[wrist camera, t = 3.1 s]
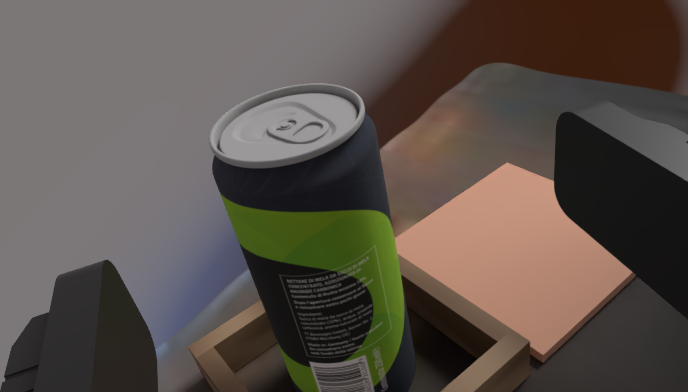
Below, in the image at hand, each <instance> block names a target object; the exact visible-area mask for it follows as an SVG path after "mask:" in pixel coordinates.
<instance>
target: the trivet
mask: <svg viewBox="0 0 688 392" xmlns="http://www.w3.org/2000/svg"><path fill="white" fill-rule="evenodd" d="M395 243H396V249H397V254H399V255H401V256H402V257H404V258H405V259H407V260H408V261H410V262H411V263H413V264H414V265H416V266H417V267H419V268H420V269H422V270H423V271H425V272H426V273H428V274H429V275H431V276H432V277H434V278H435V279H437V280H438V281H440V282H441V283H443V284H444V285H446V286H447V287H449V288H450V289H452V290H453V291H455V292H456V293H458V294H460V295H461V296H463V297H464V298H466V299H467V300H469V301H470V302H472V303H473V304H475V305H476V306H478V307H479V308H481V309H482V310H484V311H485V312H487V313H488V314H490V315H491V316H493V317H494V318H496V319H497V320H499V321H500V322H502V323H503V324H505V325H506V326H508V327H509V328H511V329H512V330H514V331H516V332H517V333H519V334H520V335H522V336H523V337H525V338H526V339H528V340H529V341H530V354H531V355H532V356H534V357H535V358H537V359H538V360H539V361H541V362H542V363H544V362H545V361H546V360H547V359H548V358H549V357H550V356H551V355H552V354H553V353H554V352H555V351H556V350H558V349H559V348H560V347H561V346H562V345H563V344H564V343H565V342H566V341H567V340H568V339H569V338H570V337H571V336H572V335H574V334H575V333H576V332H577V331H578V330H579V329H580V328H581V327H582V326H583V325H584V324H585V323H586V322H587V321H588V320H590V319H591V318H592V317H593V316H594V315H595V314H596V313H597V312H598V311H599V310H600V309H601V308H602V307H603V306H605V305H606V304H607V303H608V302H609V301H610V300H611V299H612V298H613V297H614V296H615V295H616V294H617V293H618V292H619V291H621V290H622V289H623V288H624V287H625V286H626V285H627V284H628V283H629V282H630V281H631V280H632V279H633V278H634V277H636V275H635V274H634V273H633V272H632V271H631V270H629V269H628V268H627V267H626V266H625V265H624V264H622V263H621V262H620V261H619V260H618V259H616V258H615V257H614V256H613V255H612V254H611V253H609V252H608V251H607V250H606V249H605V248H604V247H602V246H601V245H600V244H599V243H598V242H596V241H595V240H594V239H593V238H592V237H591V236H589V235H588V234H587V233H586V232H585V231H584V230H582V229H581V228H580V227H579V226H578V225H577V224H575V223H574V222H573V221H572V220H571V219H569V218H568V217H567V216H566V215H565V213H564V212H563V211H562V209H561V207H560V206H559V204H558V201H557V199H556V195H555V191H554V181H551V180H549V179H546V178H544V177H541V176H539V175H536V174H534V173H532V172H529V171H527V170H524V169H522V168H519V167H517V166H514V165H512V164H509V163H506V164H504V165H503V166H501V167H500V168H499V169H497V170H496V171H494V172H493V173H491V174H490V175H488V176H487V177H485V178H484V179H482V180H481V181H479V182H478V183H476V184H475V185H473V186H472V187H470V188H469V189H467V190H466V191H464V192H463V193H461V194H460V195H459V196H457V197H456V198H454V199H453V200H451V201H450V202H448V203H447V204H445V205H444V206H442V207H441V208H439V209H438V210H436V211H435V212H433V213H432V214H430V215H429V216H427V217H426V218H424V219H423V220H422V221H420V222H419V223H417V224H416V225H414V226H413V227H411V228H410V229H408V230H407V231H405V232H404V233H402V234H401V235H399V236H398V237H396V238H395Z"/></svg>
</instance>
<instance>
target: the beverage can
mask: <svg viewBox="0 0 688 392" xmlns="http://www.w3.org/2000/svg"><path fill="white" fill-rule="evenodd" d="M209 143H210V146H211V149H212V151H213V153H214V154H215V156H214V159H213V166H212V167H213V168H212V170H213V175H214V178H215V181H216V184H217V186H218V189H219V192H220V194H221V197H222V199H223V201H224V205H225V207H226V210H227V212H228V215H229V217H230V220H231V223H232V225H233V228H234V231H235V233H236V236H237V239H238V241H239V244H240V246H241V249H242V251H243V254H244V257H245V259H246V262H247V265H248V267H249V270H250V273H251V275H252V278H253V280H254V283H255V286H256V288H257V291H258V293H259V296H260V299H261V301H262V304H263V307H264V309H265V312H266V314H267V317H268V320H269V322H270V325H271V327H272V330H273V333H274V335H275V338H276V340H277V343H278V346H279V348H280V351H281V354H282V356H283V359H284V361H285V364H286V367H287V369H288V372H289V374H290V377H291V380H292V382H293V385H294V388H295V390H296V392H407V391H408V389H409V388H410V386H411V384H412V381H413V378H414V374H415V368H416V360H415V353H414V347H413V341H412V336H411V330H410V324H409V318H408V313H407V307H406V301H405V295H404V290H403V284H402V278H401V272H400V266H399V261H398V255H397V249H396V243H395V238H394V232H393V226H392V220H391V215H390V209H389V203H388V197H387V192H386V186H385V180H384V174H383V169H382V163H381V157H380V151H379V146H378V140H377V134H376V129H375V126H374V124H373V122H372V120H371V118H370V117H369V116H368V115H367V114H366V113H365V108H364V103H363V101H362V99H361V98H360V96H359V95H358V94H357V93H355V92H354V91H352V90H350V89H348V88H345V87H342V86H338V85H332V84H301V85H294V86H288V87H284V88H280V89H276V90H272V91H269V92H266V93H263V94H260V95H258V96H255V97H253V98H250V99H248V100H246V101H244V102H242V103H241V104H239V105H237V106H235V107H234V108H232V109H231V110H229V111H228V112H227V113H225V114H224V115H223V116H222V117H221V118H220V119H219V120H218V121H217V122H216V124H215V125H214V126H213V128H212V130H211V133H210V137H209Z"/></svg>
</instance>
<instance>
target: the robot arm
mask: <svg viewBox="0 0 688 392" xmlns="http://www.w3.org/2000/svg"><path fill="white" fill-rule="evenodd" d="M554 191H555V195H556V199H557V201H558V204H559V206H560V207H561V209H562V211H563V212H564V213H565V215H566V216H567V217H568V218H569V219H571V220H572V221H573V222H574V223H575V224H577V225H578V226H579V227H580V228H581V229H582V230H584V231H585V232H586V233H587V234H588V235H589V236H591V237H592V238H593V239H594V240H595V241H596V242H598V243H599V244H600V245H601V246H602V247H604V248H605V249H606V250H607V251H608V252H609V253H611V254H612V255H613V256H614V257H615V258H616V259H618V260H619V261H620V262H621V263H622V264H624V265H625V266H626V267H627V268H628V269H629V270H631V271H632V272H633V273H634V274H635V275H636V276H638V277H639V278H640V279H641V280H642V281H643V282H645V283H646V284H647V285H648V286H649V287H651V288H652V289H653V290H654V291H655V292H656V293H658V294H659V295H660V296H661V297H662V298H663V299H665V300H666V301H667V302H668V303H669V304H670V305H672V306H673V307H674V308H675V309H676V310H678V311H679V312H680V313H681V314H682V315H683V316H685V317H686V318H687V319H688V134H686V133H684V132H682V131H680V130H678V129H676V128H674V127H672V126H670V125H666V124H662V123H658V122H654V121H650V120H646V119H643V118H639V117H637V116H635V115H633V114H631V113H630V112H628V111H626V110H624V109H622V108H620V107H618V106H616V105H614V104H613V103H611V102H608V101H604V100H602V101H598V102H595V103H592V104H589V105H585V106H582V107H579V108H576V109H573V110H570V111H567V112H564V113H562V114H561V115H560V116H559V118H558V120H557V124H556V142H555V169H554ZM4 377H5V382H3V383H2V386H1V390H0V392H158V377H157V357H156V351H155V347H154V343H153V340H152V337H151V334H150V332H149V329H148V327H147V325H146V323H145V321H144V319H143V317H142V315H141V314H140V312H139V310H138V308H137V306H136V304H135V302H134V301H133V299H132V297H131V295H130V293H129V291H128V290H127V288H126V286H125V284H124V282H123V280H122V279H121V277H120V275H119V273H118V271H117V270H116V268H115V266H114V265H113V264H112V263H111V262H110V261H109V260H104V261H101V262H98V263H95V264H92V265H89V266H86V267H83V268H80V269H77V270H73V271H70V272H67V273H65V274H61V275H59V276H58V277H57V279H56V282H55V287H54V291H53V296H52V301H51V306H50V311H49V313H45V314H43V315H39V316H37V317H33V318H32V319H31V320H30V322H29V323H28V325H27V326H26V328H25V329H24V331H23V332H22V333H21V335H20V336H19V338H18V339H17V340H16V342H15V343H14V345H13V346H12V348H11V352H10V356H9V359H8V363H7V367H6V371H5V375H4Z"/></svg>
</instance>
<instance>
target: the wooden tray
mask: <svg viewBox="0 0 688 392" xmlns="http://www.w3.org/2000/svg"><path fill="white" fill-rule="evenodd" d="M397 255H398V261H399V266H400V272H401V278H402V284H403V290H404V295H405V301H406V306H407V307H408V308H410V309H411V310H413V311H414V312H415V313H417V314H418V315H419V316H421V317H422V318H423V319H425V320H426V321H427V322H429V323H430V324H431V325H433V326H434V327H435V328H437V329H438V330H439V331H441V332H442V333H443V334H445V335H446V336H447V337H449V338H450V339H451V340H453V341H454V342H455V343H457V344H458V345H459V346H461V347H462V348H463V349H465V350H466V351H467V352H469V353H470V354H471V355H473V356H474V357H475V358H477V359H478V360H476V361H475V362H474V363H473V364H472V365H471V366H469V367H468V368H467V369H466V370H465V371H464V372H462V373H461V374H460V375H459V376H458V377H457V378H456V379H454V380H453V381H452V382H451V383H450V384H449V385H447V386H446V387H445V388H444V389H443V390H442V391H441V392H513V391H514V390H515V389H516V388H517V387H518V386H519V385H520V384H521V383H522V382H523V381H524V380H525V379H527V378H528V377H529V376H530V341H529V340H528V339H526V338H525V337H523V336H522V335H520V334H519V333H517V332H516V331H514V330H512V329H511V328H509V327H508V326H506V325H505V324H503V323H502V322H500V321H499V320H497V319H496V318H494V317H493V316H491V315H490V314H488V313H487V312H485V311H484V310H482V309H481V308H479V307H478V306H476V305H475V304H473V303H472V302H470V301H469V300H467V299H466V298H464V297H463V296H461V295H460V294H458V293H456V292H455V291H453V290H452V289H450V288H449V287H447V286H446V285H444V284H443V283H441V282H440V281H438V280H437V279H435V278H434V277H432V276H431V275H429V274H428V273H426V272H425V271H423V270H422V269H420V268H419V267H417V266H416V265H414V264H413V263H411V262H410V261H408V260H407V259H405V258H404V257H402V256H401V255H399V254H397ZM276 343H277V340H276V338H275V335H274V333H273V330H272V327H271V325H270V322H269V320H268V317H267V314H266V312H265V309H264V307H263V304H262V301H261V300H260V301H258V302H257V303H255V304H254V305H252V306H251V307H249V308H247V309H246V310H244V311H243V312H241V313H240V314H238V315H237V316H235V317H234V318H232V319H231V320H229V321H227V322H226V323H224V324H223V325H221V326H220V327H218V328H217V329H215V330H214V331H212V332H211V333H209V334H207V335H206V336H204V337H203V338H201V339H200V340H198V341H197V342H195V343H194V344H192V345H191V346H189V347H188V348H189V350H190V352H191V354H192V356H193V358H194V359H195V361H196V363H197V365H198V367H199V369H200V371H201V373H202V375H203V377H204V378H205V380H206V381H207V382H208V384H209V385H210V387H211V388H212V389H213V391H214V392H248V391H247V389H246V388H245V387H244V386H243V384H242V383H241V382H240V380H239V379H238V378H237V377H236V375H235V374H234V372H236V371H237V370H239V369H240V368H241V367H243V366H244V365H246V364H247V363H249V362H250V361H251V360H253V359H254V358H256V357H257V356H259V355H260V354H261V353H263V352H264V351H266V350H267V349H269V348H270V347H272V346H273V345H274V344H276Z"/></svg>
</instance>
